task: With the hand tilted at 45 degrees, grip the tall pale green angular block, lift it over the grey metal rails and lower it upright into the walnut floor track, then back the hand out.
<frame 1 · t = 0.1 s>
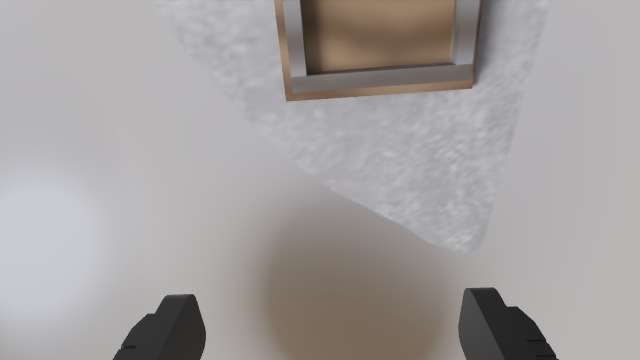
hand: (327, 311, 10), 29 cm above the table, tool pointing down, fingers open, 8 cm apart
track: (376, 31, 34), on the table
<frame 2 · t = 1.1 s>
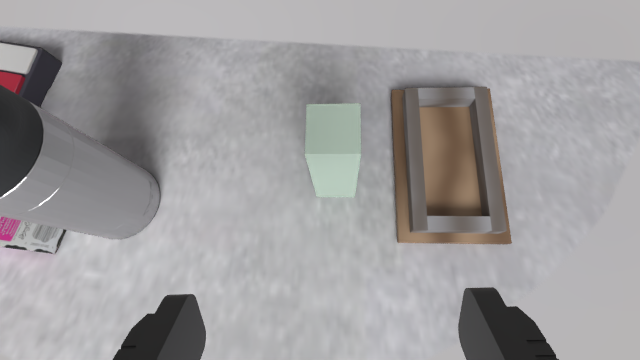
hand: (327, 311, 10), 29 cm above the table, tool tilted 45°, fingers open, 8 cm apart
calculator: (9, 104, 48), on the table
track: (444, 163, 41), on the table
pale green angular block: (335, 179, 41), on the table
candy bar box: (26, 225, 42), on the table
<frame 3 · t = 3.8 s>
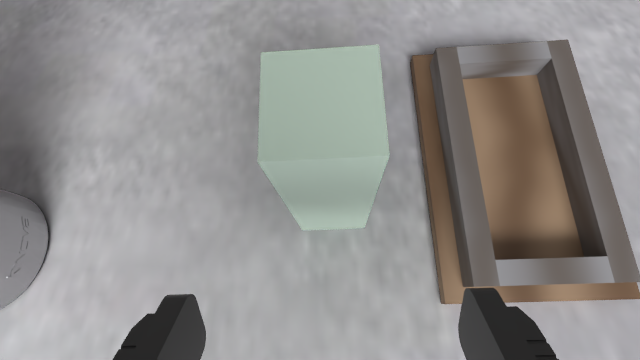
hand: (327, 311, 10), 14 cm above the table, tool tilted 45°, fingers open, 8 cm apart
track: (505, 165, 26), on the table
pale green angular block: (332, 199, 26), on the table
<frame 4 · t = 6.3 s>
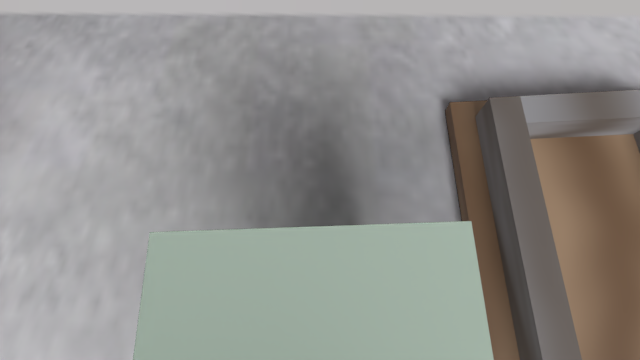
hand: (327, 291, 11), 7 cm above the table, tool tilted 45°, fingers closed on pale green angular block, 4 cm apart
track: (592, 272, 17), on the table
pale green angular block: (335, 320, 17), on the table, touching gripper
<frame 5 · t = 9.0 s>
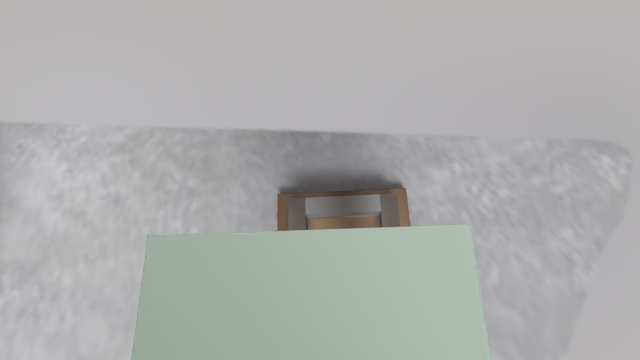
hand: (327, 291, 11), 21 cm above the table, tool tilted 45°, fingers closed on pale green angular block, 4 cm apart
track: (347, 297, 30), on the table
pale green angular block: (334, 321, 17), point 13 cm above the table, touching gripper
when the fingers open (9 cm above the table, at t = 11.7 s): pale green angular block stays where it is, resting on track.
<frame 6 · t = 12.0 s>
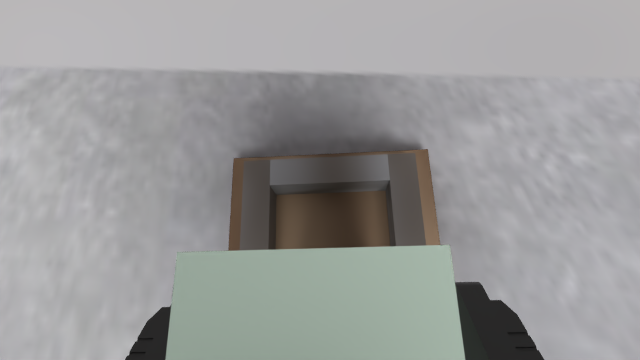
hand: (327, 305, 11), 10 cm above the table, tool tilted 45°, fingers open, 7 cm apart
track: (335, 317, 19), on the table
pale green angular block: (334, 322, 18), point 1 cm above the table, touching track
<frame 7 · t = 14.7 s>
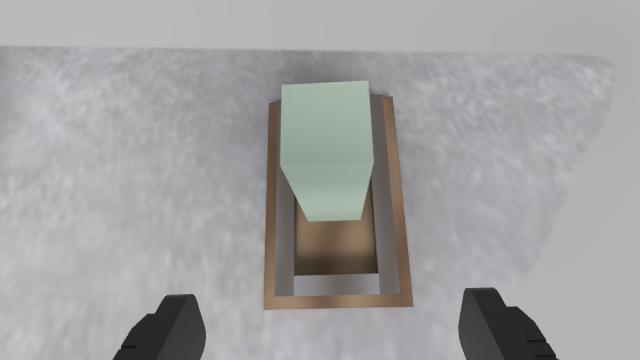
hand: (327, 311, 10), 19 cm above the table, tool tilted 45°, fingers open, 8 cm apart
track: (333, 196, 31), on the table
pale green angular block: (333, 195, 30), point 1 cm above the table, touching track
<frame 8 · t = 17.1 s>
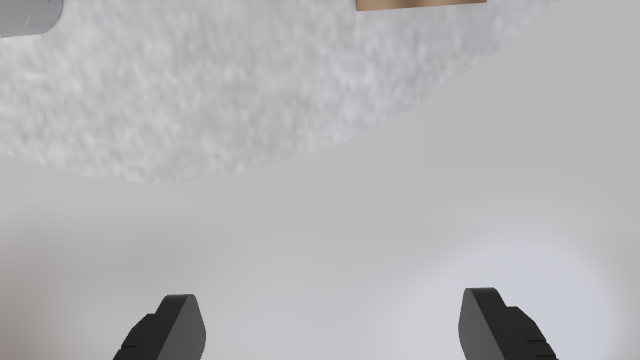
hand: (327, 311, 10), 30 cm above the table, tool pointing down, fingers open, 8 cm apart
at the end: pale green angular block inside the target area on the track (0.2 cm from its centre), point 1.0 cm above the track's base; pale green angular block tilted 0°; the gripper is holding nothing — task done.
